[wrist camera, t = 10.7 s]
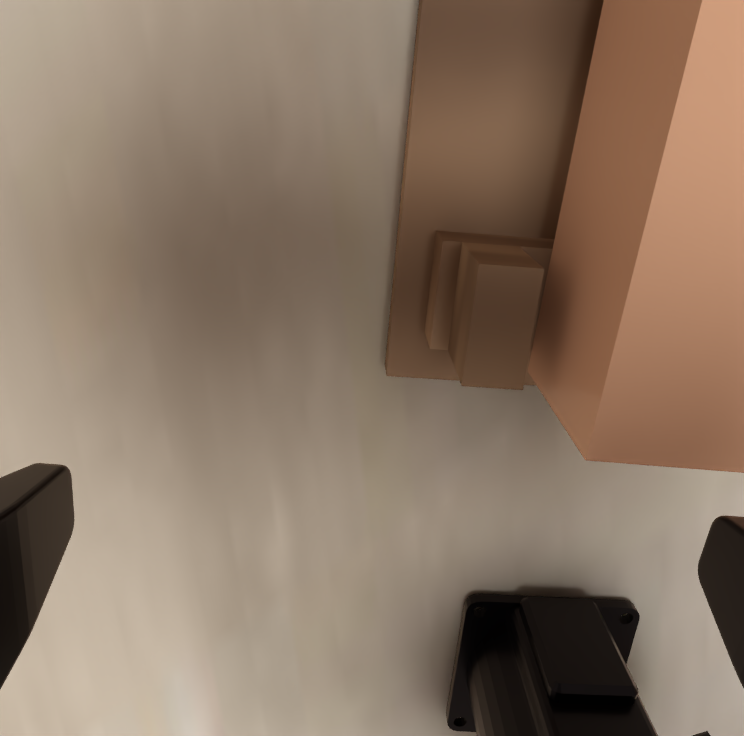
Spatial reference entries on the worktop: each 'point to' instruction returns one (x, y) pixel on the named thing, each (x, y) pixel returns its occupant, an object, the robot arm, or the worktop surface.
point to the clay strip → (653, 244)
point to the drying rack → (484, 183)
